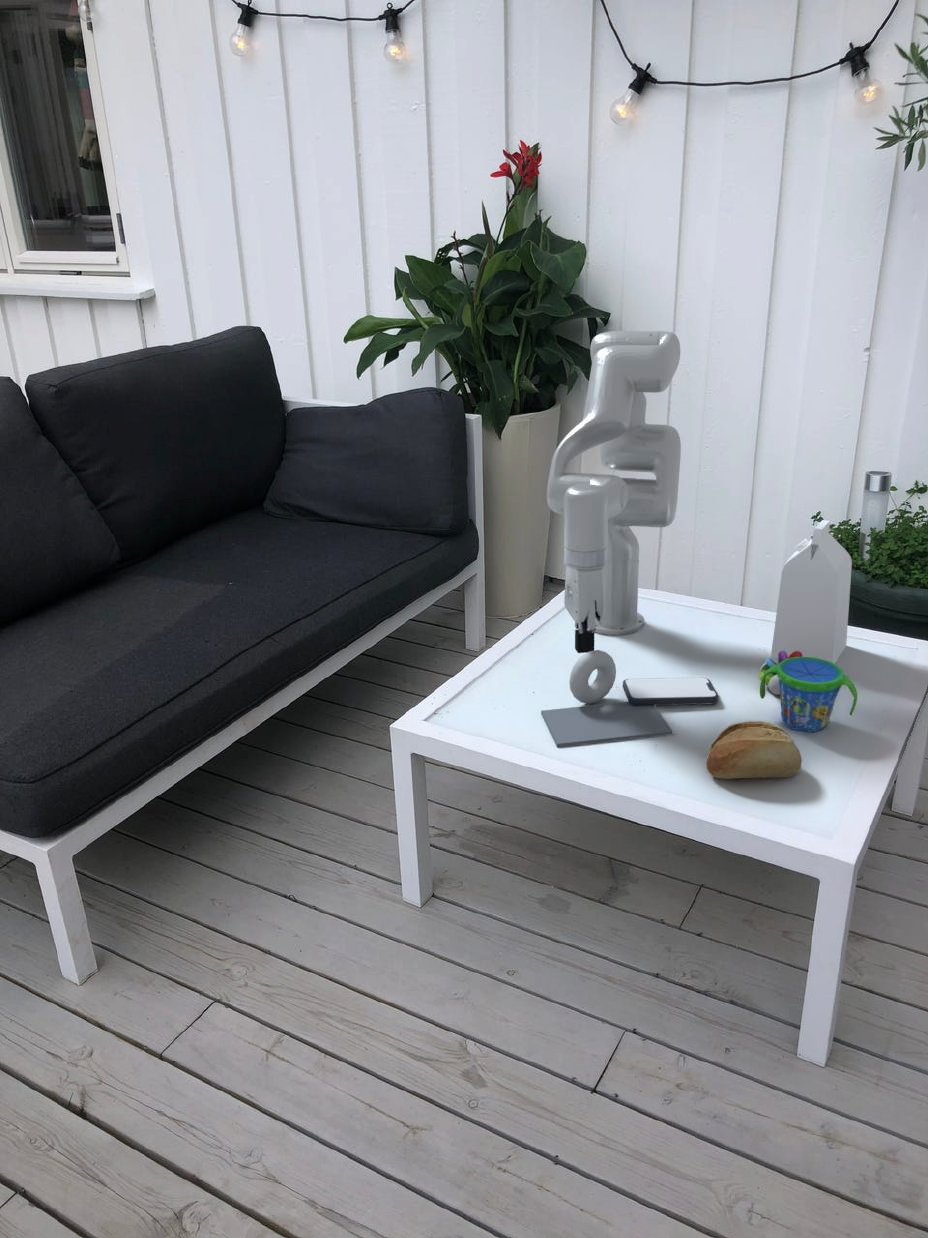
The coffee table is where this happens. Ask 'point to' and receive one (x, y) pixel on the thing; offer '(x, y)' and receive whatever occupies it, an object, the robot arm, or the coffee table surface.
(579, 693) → the donut
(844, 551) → the milk
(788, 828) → the coffee table surface
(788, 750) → the bread roll
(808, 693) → the snack cup
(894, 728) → the coffee table surface
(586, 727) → the mat
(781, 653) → the multicolored rounded-lobe toy
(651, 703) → the smartphone
